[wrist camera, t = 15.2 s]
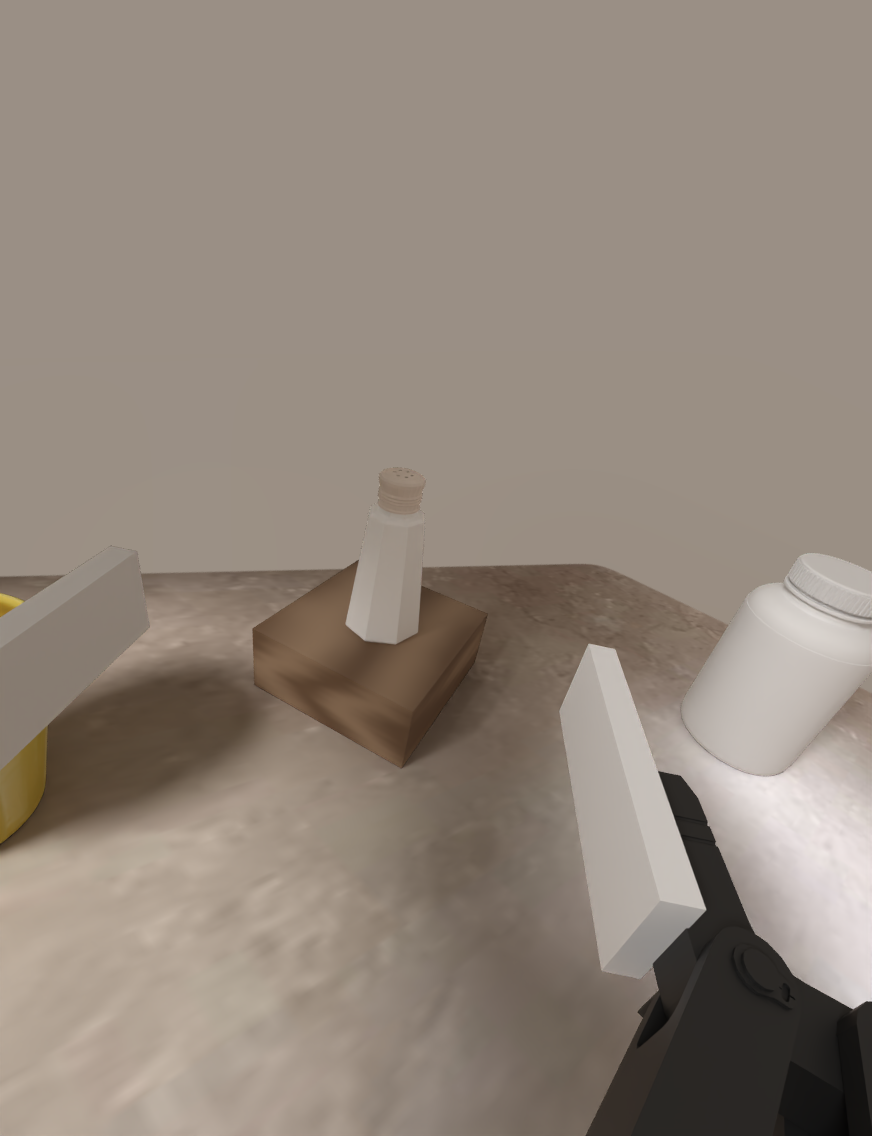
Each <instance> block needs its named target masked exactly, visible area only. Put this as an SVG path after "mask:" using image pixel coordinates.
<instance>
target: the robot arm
mask: <svg viewBox="0 0 872 1136" xmlns="http://www.w3.org/2000/svg"><path fill="white" fill-rule="evenodd" d="M149 627H150V625H149V619H148V613H147V607H146V601H145V596H144V590H143V584H142V578H141V572H140V566H139V560H138V554H137V551H133V550H129V549H124V548H119V547H114V546H110V547H108V548H106V549H105V550H103V551H102V552H100V553H99V554H97V555H96V556H94V557H93V558H91V559H90V560H88V561H87V562H85V563H83V564H82V565H80V566H79V567H77V568H76V569H74V570H73V571H71V572H69V573H68V574H66V575H65V576H63V577H62V578H60V579H59V580H57V581H56V582H54V583H52V584H51V585H49V586H48V587H46V588H45V589H43V590H42V591H40V592H39V593H37V594H36V595H34V596H32V597H31V598H29V599H28V600H26V601H25V602H23V603H22V604H20V605H19V606H17V607H15V608H14V609H12V610H11V611H9V612H8V613H6V614H5V615H3V616H2V617H0V770H1V769H2V768H3V767H5V766H6V765H7V764H8V763H9V762H10V761H11V760H12V759H13V758H14V757H15V756H16V755H17V754H18V753H19V752H20V751H21V750H22V749H23V748H24V747H25V746H26V745H27V744H28V743H30V742H31V741H32V740H33V739H34V738H35V737H36V736H37V735H38V734H39V733H40V732H41V731H42V730H43V729H44V728H45V727H46V726H47V725H48V724H49V723H50V722H51V721H52V720H53V719H55V718H56V717H57V716H58V715H59V714H60V713H61V712H62V711H63V710H64V709H65V708H66V707H67V706H68V705H69V704H70V703H71V702H72V701H73V700H74V699H75V698H76V697H77V696H78V695H80V694H81V693H82V692H83V691H84V690H85V689H86V688H87V687H88V686H89V685H90V684H91V683H92V682H93V681H94V680H95V679H96V678H97V677H98V676H99V675H100V674H101V673H102V672H103V671H105V670H106V669H107V668H108V667H109V666H110V665H111V664H112V663H113V662H114V661H115V660H116V659H117V658H118V657H119V656H120V655H121V654H122V653H123V652H124V651H125V650H126V649H127V648H128V647H130V646H131V645H132V644H133V643H134V642H135V641H136V640H137V639H138V638H139V637H140V636H141V635H142V634H143V633H144V632H145V631H146V630H147V629H148V628H149ZM559 713H560V719H561V725H562V731H563V737H564V743H565V750H566V756H567V762H568V768H569V774H570V780H571V787H572V793H573V799H574V805H575V811H576V817H577V824H578V830H579V836H580V842H581V848H582V854H583V861H584V867H585V873H586V879H587V885H588V891H589V898H590V904H591V910H592V916H593V922H594V928H595V934H596V941H597V947H598V953H599V959H600V965H601V971H603V972H608V973H613V974H618V975H622V976H627V977H632V978H637V979H641V978H642V977H643V976H644V975H645V974H646V973H647V972H648V971H649V970H650V969H651V968H652V967H654V972H655V976H656V980H657V984H658V988H659V991H658V992H657V993H656V994H655V995H654V996H653V997H651V998H650V999H649V1000H648V1001H647V1002H646V1003H645V1004H644V1005H643V1006H642V1008H641V1009H640V1010H639V1011H638V1013H639V1014H640V1015H641V1016H642V1017H643V1019H642V1021H641V1023H640V1025H639V1027H638V1029H637V1031H636V1033H635V1035H634V1038H633V1040H632V1042H631V1044H630V1046H629V1048H628V1050H627V1052H626V1054H625V1056H624V1058H623V1060H622V1062H621V1064H620V1066H619V1068H618V1070H617V1073H616V1075H615V1077H614V1079H613V1081H612V1083H611V1085H610V1087H609V1089H608V1091H607V1093H606V1095H605V1097H604V1099H603V1101H602V1103H601V1105H600V1108H599V1110H598V1112H597V1114H596V1116H595V1118H594V1120H593V1122H592V1124H591V1126H590V1128H589V1130H588V1132H587V1134H586V1136H872V1002H868V1001H866V1002H865V1003H863V1004H861V1005H860V1006H858V1007H856V1008H855V1009H851V1008H849V1007H847V1006H846V1005H844V1004H842V1003H840V1002H838V1001H837V1000H835V999H833V998H831V997H829V996H827V995H826V994H824V993H822V992H820V991H818V990H817V989H815V988H813V987H811V986H809V985H808V984H806V983H804V982H802V981H801V980H799V979H798V978H796V977H795V976H793V975H792V973H791V972H790V970H789V968H788V967H787V965H786V964H785V962H784V961H783V959H782V958H781V957H780V956H779V954H778V953H777V952H776V951H775V950H774V949H773V948H772V947H771V946H770V945H769V944H768V943H767V942H766V941H764V940H763V939H761V938H760V937H758V936H757V935H755V933H754V931H753V929H752V927H751V925H750V923H749V921H748V919H747V916H746V914H745V911H744V909H743V907H742V904H741V902H740V899H739V897H738V894H737V892H736V889H735V887H734V885H733V882H732V880H731V877H730V875H729V872H728V870H727V868H726V865H725V863H724V860H723V858H722V855H721V853H720V851H719V848H718V847H717V846H716V845H715V842H716V841H715V838H714V836H713V834H712V831H711V829H710V827H709V826H707V822H708V821H707V819H706V817H705V814H704V812H703V809H702V807H701V804H700V802H699V800H698V798H697V796H696V795H695V794H694V792H693V791H692V790H691V789H690V787H689V786H688V785H687V783H686V782H685V781H684V779H683V778H682V777H681V776H679V775H674V774H669V773H664V772H659V771H658V770H657V767H656V765H655V762H654V759H653V756H652V753H651V750H650V747H649V745H648V742H647V739H646V736H645V733H644V730H643V727H642V725H641V722H640V719H639V716H638V713H637V710H636V707H635V705H634V702H633V699H632V696H631V693H630V690H629V687H628V685H627V682H626V679H625V676H624V673H623V670H622V667H621V665H620V662H619V659H618V656H617V653H616V650H615V649H612V648H607V647H603V646H598V645H593V644H588V646H587V649H586V651H585V653H584V655H583V658H582V660H581V662H580V665H579V667H578V669H577V671H576V674H575V676H574V678H573V681H572V683H571V685H570V688H569V690H568V692H567V694H566V697H565V699H564V701H563V704H562V706H561V708H560V710H559Z"/></svg>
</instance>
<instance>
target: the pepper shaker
mask: <svg viewBox="0 0 872 1136" xmlns="http://www.w3.org/2000/svg"><path fill="white" fill-rule="evenodd" d="M379 482H380V486H379V491H378V496H379V499H378V503H377V504H374V505H371V508H370V512H369V515H368V520H367V525H366V529H365V534H364V539H363V544H362V548H361V553H360V558H359V562H358V567H357V572H356V576H355V581H354V586H353V591H352V595H351V600H350V605H349V609H348V614H347V619H346V626H347V627H349V628H350V629H351V630H352V631H353V632H355V633H356V634H357V635H358V636H359V637H361V638H362V639H363V640H364V641H366V642H375V643H385V644H394V645H396V644H398V643H399V642H401V641H403V640H405V639H407V638H409V637H411V636H413V635H415V634H416V633H418V625H419V609H420V594H421V579H422V563H423V549H424V533H425V531H424V530H425V515H424V512H423V511H421V510H419V509H420V505H419V504H420V503H421V499H422V491H423V489H424V487H425V483H426V480H425V478H424V477H423V476H422V475H421V474H419V473H417V472H416V471H413V470H410V469H406V468H398V467H395V468H387V469H384V470H383V471H381V473H380V474H379Z"/></svg>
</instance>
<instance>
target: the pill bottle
mask: <svg viewBox="0 0 872 1136" xmlns="http://www.w3.org/2000/svg"><path fill="white" fill-rule="evenodd" d="M871 673H872V572H870V571H868V570H866V569H864V568H862V567H860V566H857V565H855V564H852V563H850V562H847V561H845V560H841V559H838V558H835V557H832V556H828V555H823V554H817V553H806V554H803V555H801V556H799V557H798V559H797V560H796V562H795V563H794V565H793V566H792V568H791V570H790V571H789V573H788V575H787V576H786V577H785V578H784V583H770V584H765V585H762V586H760V587H758V588H756V589H755V590H753V591H752V592H751V593H749V594H748V596H747V597H746V599H745V600H744V601H743V603H742V605H741V606H740V608H739V609H738V611H737V613H736V614H735V616H734V617H733V619H732V621H731V623H730V624H729V625H728V627H727V629H726V630H725V632H724V633H723V635H722V637H721V638H720V640H719V642H718V643H717V645H716V646H715V648H714V650H713V651H712V653H711V654H710V656H709V658H708V659H707V661H706V662H705V664H704V666H703V667H702V669H701V670H700V672H699V674H698V675H697V677H696V679H695V680H694V682H693V683H692V685H691V687H690V688H689V690H688V691H687V693H686V695H685V697H684V699H683V701H682V705H681V715H682V719H683V722H684V724H685V726H686V728H687V729H688V731H689V732H690V734H691V735H692V736H693V737H694V739H695V740H696V741H697V742H698V743H699V744H700V745H701V746H702V747H703V748H705V749H706V750H707V751H708V752H709V753H711V754H712V755H713V756H715V757H716V758H718V759H719V760H721V761H722V762H724V763H726V764H728V765H730V766H731V767H734V768H736V769H738V770H740V771H743V772H746V773H749V774H753V775H758V776H773V775H777V774H780V773H782V772H783V771H785V770H786V769H787V768H788V767H789V766H791V765H792V764H793V763H794V761H795V760H796V759H797V758H798V757H799V756H800V754H801V753H802V752H803V751H804V750H805V749H806V748H807V746H808V745H809V744H810V743H811V742H812V741H813V740H814V738H815V737H816V736H817V735H818V734H819V733H820V731H821V730H822V729H823V728H824V727H825V726H826V725H827V723H828V722H829V721H830V720H831V719H832V718H833V717H834V715H835V714H836V713H837V712H838V711H839V710H840V709H841V707H842V706H843V705H844V704H845V703H846V702H847V700H848V699H849V698H850V697H851V696H852V695H853V694H854V692H855V691H856V690H857V689H858V688H859V687H860V686H861V684H862V683H863V682H864V681H865V680H866V679H867V677H868V676H869V675H870V674H871Z"/></svg>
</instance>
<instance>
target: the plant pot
mask: <svg viewBox="0 0 872 1136" xmlns="http://www.w3.org/2000/svg"><path fill="white" fill-rule="evenodd" d="M23 602H25V601H23V600H21V599H19V598H16V597H13V596H9V595H6V594H2V593H0V617H2V616H3V615H5V614H6V613H8V612H9V611H11V610H12V609H14V608H15V607H17V606H19V605H20V604H22V603H23ZM47 731H48V725H47V726H46V727H45V728H44V729H43V730H42V731H41V732H40V733H39V734H38V735H37V736H36V737H35V738H34V739H33V740H32V741H31V742H30V743H28V744H27V745H26V746H25V747H24V748H23V749H22V750H21V751H20V752H19V753H18V754H17V755H16V756H15V757H14V758H13V759H12V760H11V761H10V762H9V763H8V764H7V765H6V766H5V767H3V768H2V769H1V770H0V844H1V843H2V842H3V841H5V840H6V839H7V838H8V837H9V836H11V835H12V834H13V833H14V832H15V831H17V830H18V829H19V828H20V827H21V826H22V825H23V824H24V823H25V821H26V820H27V819H28V818H29V817H30V816H31V814H32V813H33V812H34V810H35V809H36V807H37V806H38V804H39V802H40V800H41V798H42V795H43V793H44V789H45V783H46V758H47Z"/></svg>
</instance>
